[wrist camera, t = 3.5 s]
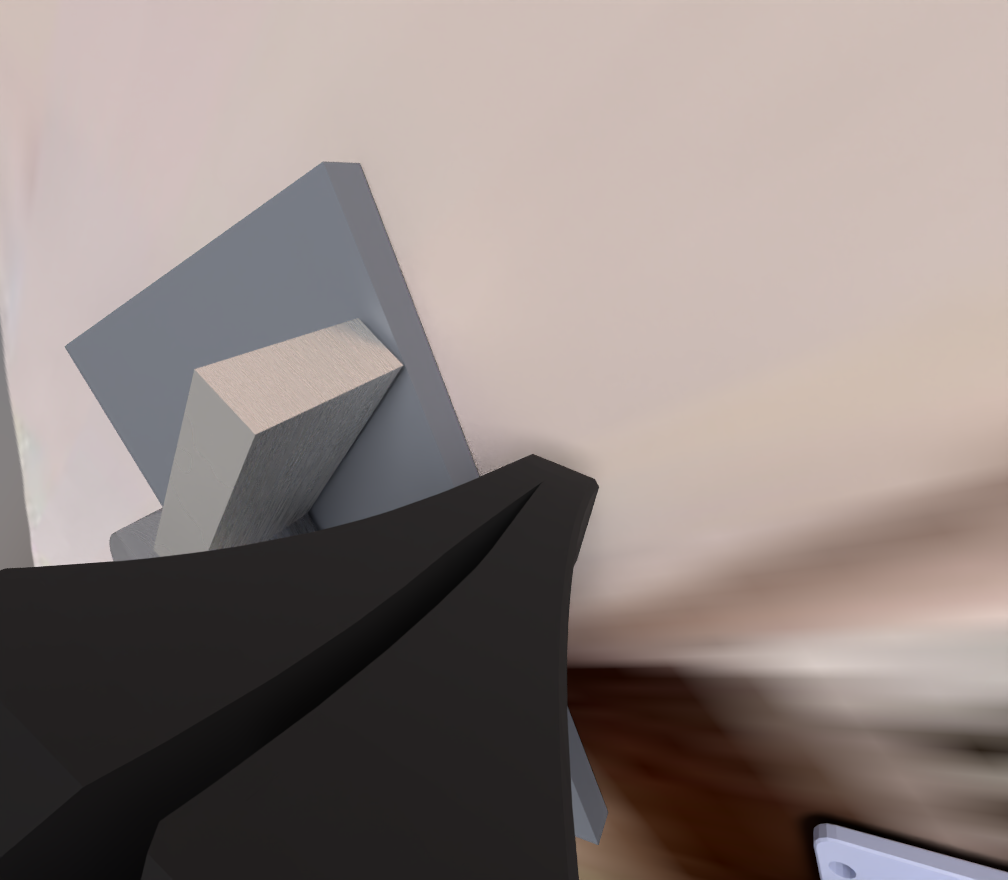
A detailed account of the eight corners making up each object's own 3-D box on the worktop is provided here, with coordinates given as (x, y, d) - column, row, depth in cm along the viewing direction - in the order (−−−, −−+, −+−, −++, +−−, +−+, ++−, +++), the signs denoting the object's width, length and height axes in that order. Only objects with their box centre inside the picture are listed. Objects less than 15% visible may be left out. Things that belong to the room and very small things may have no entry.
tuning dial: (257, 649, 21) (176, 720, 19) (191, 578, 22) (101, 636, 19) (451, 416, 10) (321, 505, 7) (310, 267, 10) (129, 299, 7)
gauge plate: (608, 812, 16) (595, 855, 15) (315, 713, 25) (294, 735, 24) (360, 163, 10) (310, 161, 9) (94, 339, 19) (54, 348, 18)
